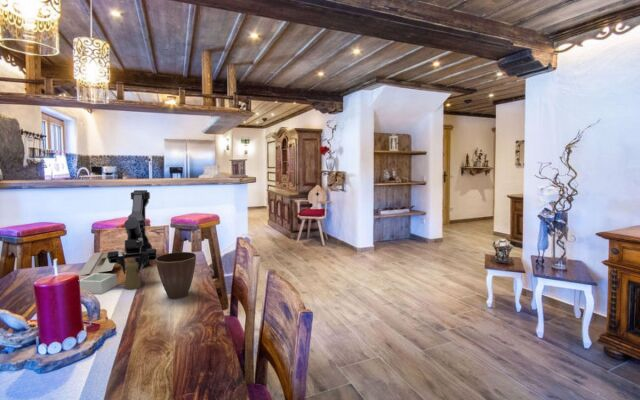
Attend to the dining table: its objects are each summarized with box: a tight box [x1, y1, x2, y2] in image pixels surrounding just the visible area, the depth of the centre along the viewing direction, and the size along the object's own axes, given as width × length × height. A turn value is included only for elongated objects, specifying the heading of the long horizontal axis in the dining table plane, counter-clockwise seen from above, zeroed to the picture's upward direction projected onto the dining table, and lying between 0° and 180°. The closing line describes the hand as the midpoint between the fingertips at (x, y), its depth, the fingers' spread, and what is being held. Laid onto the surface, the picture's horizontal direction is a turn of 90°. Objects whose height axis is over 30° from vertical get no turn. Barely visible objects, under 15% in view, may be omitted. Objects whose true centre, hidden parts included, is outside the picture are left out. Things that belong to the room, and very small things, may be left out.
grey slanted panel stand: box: [77, 248, 123, 276], centre depth 171 cm, size 16×9×15 cm
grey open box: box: [79, 273, 118, 295], centre depth 145 cm, size 10×10×5 cm
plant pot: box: [155, 251, 197, 300], centre depth 138 cm, size 15×15×16 cm
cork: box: [124, 260, 142, 291], centre depth 147 cm, size 6×6×11 cm
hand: (131, 273), depth 146 cm, fingers closed on cork, 5 cm apart
